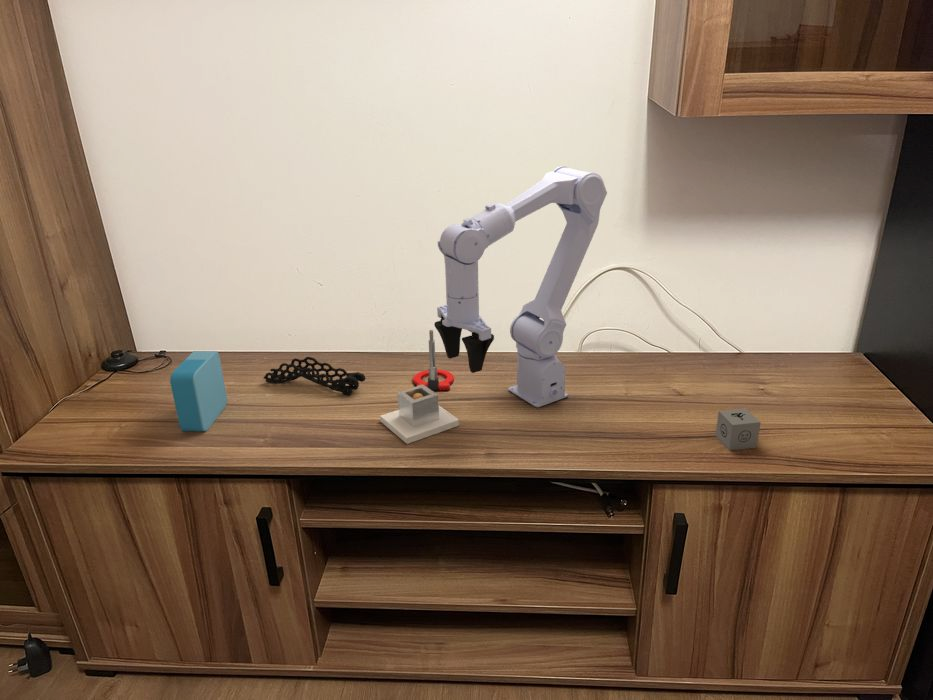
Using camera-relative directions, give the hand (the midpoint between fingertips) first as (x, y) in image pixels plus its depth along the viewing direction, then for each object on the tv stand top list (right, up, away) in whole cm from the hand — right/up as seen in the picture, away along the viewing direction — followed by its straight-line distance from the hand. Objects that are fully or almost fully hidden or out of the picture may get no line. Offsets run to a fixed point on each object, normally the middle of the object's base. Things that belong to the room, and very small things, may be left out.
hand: (464, 363), depth 132 cm
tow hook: (-6, -4, +17) cm, 19 cm away
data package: (-49, -11, +5) cm, 51 cm away
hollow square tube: (-8, -10, +1) cm, 13 cm away
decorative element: (-31, -5, +17) cm, 35 cm away
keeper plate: (-8, -11, +1) cm, 14 cm away
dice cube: (+47, -14, -7) cm, 50 cm away
